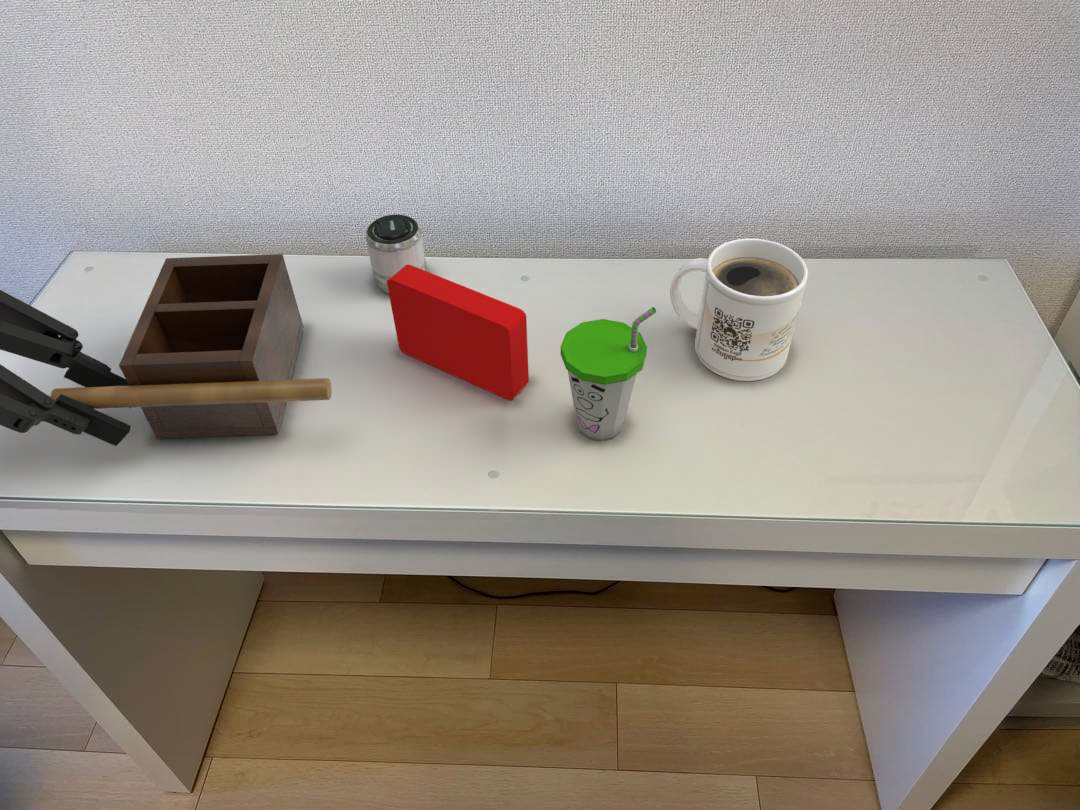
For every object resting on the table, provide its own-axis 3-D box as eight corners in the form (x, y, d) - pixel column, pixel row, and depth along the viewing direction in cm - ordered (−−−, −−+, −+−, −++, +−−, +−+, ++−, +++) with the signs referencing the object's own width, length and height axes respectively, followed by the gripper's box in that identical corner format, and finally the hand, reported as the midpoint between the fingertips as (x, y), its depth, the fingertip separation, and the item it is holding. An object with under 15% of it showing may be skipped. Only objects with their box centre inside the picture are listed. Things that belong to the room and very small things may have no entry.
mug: (720, 395, 87) (736, 311, 79) (661, 325, 95) (670, 242, 87) (805, 364, 90) (829, 281, 82) (742, 299, 98) (757, 217, 90)
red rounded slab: (529, 385, 89) (526, 310, 81) (513, 402, 87) (509, 328, 80) (416, 335, 94) (404, 262, 87) (399, 351, 93) (386, 277, 85)
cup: (545, 432, 84) (543, 315, 73) (587, 385, 88) (591, 268, 78) (613, 466, 81) (621, 349, 70) (653, 415, 85) (667, 298, 74)
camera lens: (423, 261, 104) (415, 205, 98) (432, 292, 99) (424, 236, 94) (371, 269, 103) (360, 214, 97) (378, 301, 98) (367, 245, 93)
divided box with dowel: (137, 333, 95) (102, 260, 88) (362, 324, 95) (345, 251, 88) (83, 456, 83) (37, 383, 75) (342, 447, 83) (321, 373, 76)
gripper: (-113, 250, 77) (137, 374, 89) (-221, 387, 65) (85, 508, 77) (-85, 197, 73) (172, 334, 85) (-194, 333, 61) (123, 469, 74)
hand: (130, 416), depth 81 cm, fingers open, 4 cm apart
